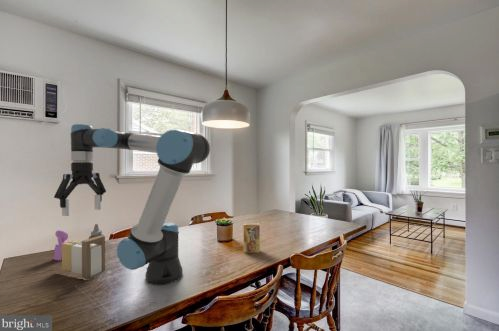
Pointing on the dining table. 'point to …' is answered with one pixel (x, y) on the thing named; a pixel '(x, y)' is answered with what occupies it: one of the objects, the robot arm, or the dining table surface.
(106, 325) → the dining table surface
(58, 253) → the pink scoop
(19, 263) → the dining table surface
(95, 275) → the mat
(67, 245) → the stub
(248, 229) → the candy box
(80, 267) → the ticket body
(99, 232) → the squeeze bottle
